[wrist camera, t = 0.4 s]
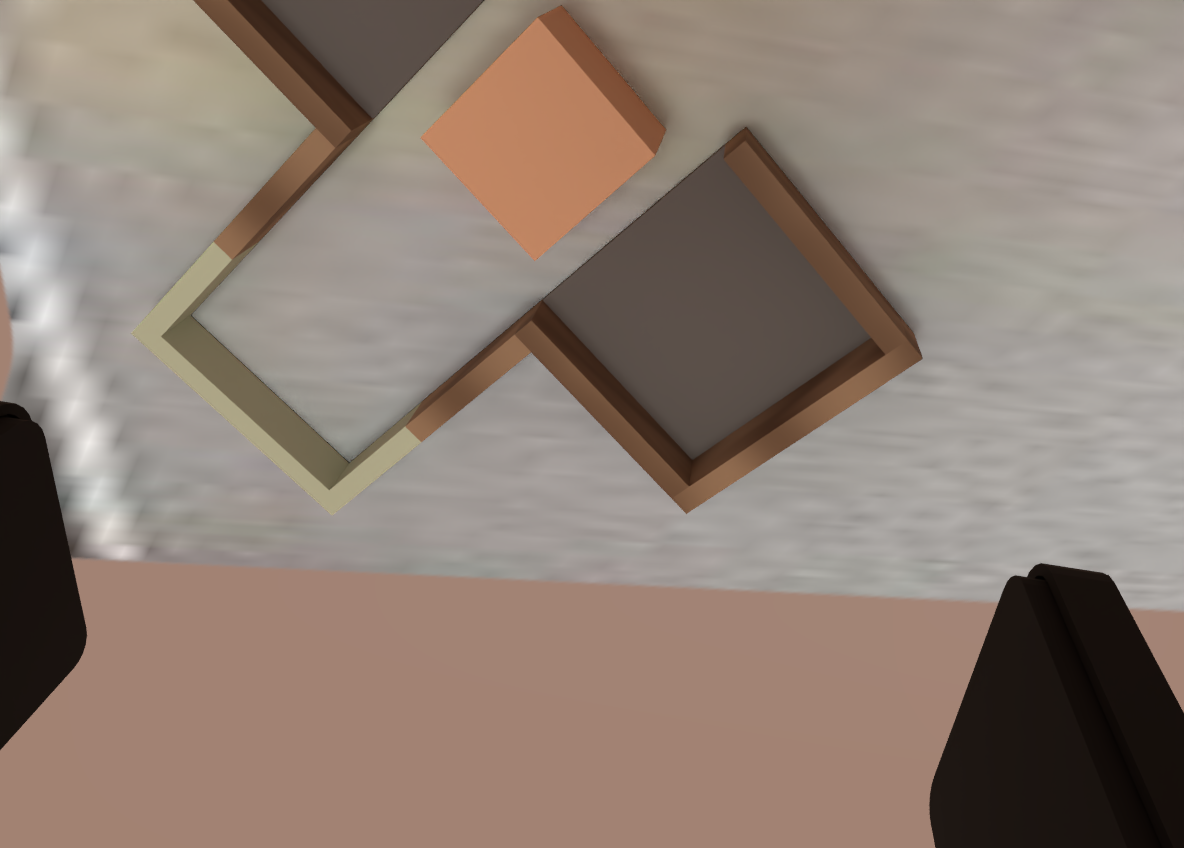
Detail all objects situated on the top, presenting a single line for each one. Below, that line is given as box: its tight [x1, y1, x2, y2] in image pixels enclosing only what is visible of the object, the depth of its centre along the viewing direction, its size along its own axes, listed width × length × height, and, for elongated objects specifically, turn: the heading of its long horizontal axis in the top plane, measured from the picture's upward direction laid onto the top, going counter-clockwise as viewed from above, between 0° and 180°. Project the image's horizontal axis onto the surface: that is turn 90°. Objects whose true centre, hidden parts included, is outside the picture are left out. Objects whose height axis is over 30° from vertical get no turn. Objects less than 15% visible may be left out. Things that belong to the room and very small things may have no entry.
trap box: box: [131, 0, 923, 515], centre depth 40 cm, size 26×32×2 cm
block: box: [421, 5, 666, 261], centre depth 36 cm, size 6×6×4 cm
